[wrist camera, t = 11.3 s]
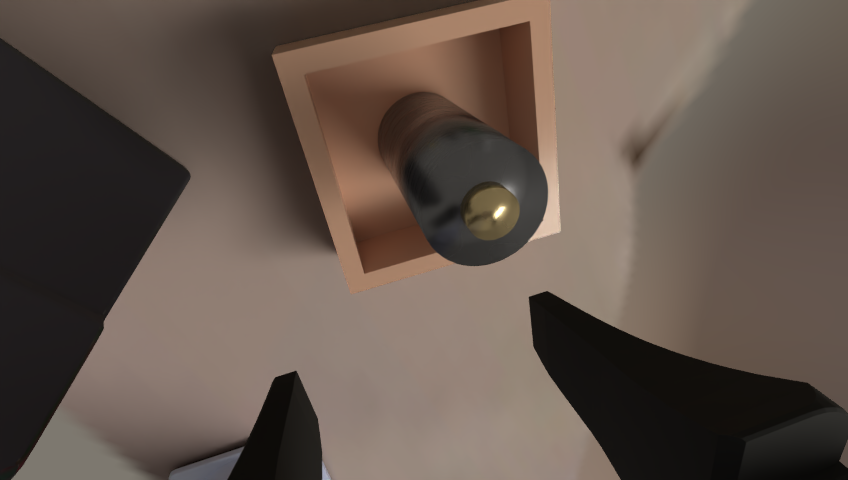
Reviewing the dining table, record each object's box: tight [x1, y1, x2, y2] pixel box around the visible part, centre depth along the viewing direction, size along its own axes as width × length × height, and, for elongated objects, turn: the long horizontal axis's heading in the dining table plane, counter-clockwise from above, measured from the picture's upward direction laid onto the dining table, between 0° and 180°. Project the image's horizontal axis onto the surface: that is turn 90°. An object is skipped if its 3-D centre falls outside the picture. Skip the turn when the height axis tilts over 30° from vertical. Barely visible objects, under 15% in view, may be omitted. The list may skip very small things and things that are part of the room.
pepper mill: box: [378, 92, 548, 266], centre depth 17 cm, size 4×4×9 cm
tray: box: [272, 0, 561, 294], centre depth 19 cm, size 10×10×4 cm
